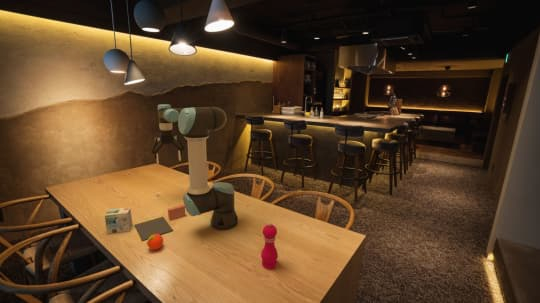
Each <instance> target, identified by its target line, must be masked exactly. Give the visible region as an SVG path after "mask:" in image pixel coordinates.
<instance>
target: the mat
mask: <svg viewBox="0 0 540 303" xmlns="http://www.w3.org/2000/svg"><path fill="white" fill-rule="evenodd" d="M133 225H134V228H135V229H136V232H137V235H138V236H139V238H140V241H141V242H143V241H147V240H148V238H149V237H150V236H151V235H153V234H160V235H161V236H162V235H165V234H168V233H172V232H174V230H173V228H172V227H171V225H170V223H169V222H167V220H166V219H165V217H164V216H161V217H160V216H159V217H157V218H153V219H150V220H147V221H143V222H139V223H135V224H133Z"/></svg>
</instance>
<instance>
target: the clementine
mask: <svg viewBox="0 0 540 303" xmlns="http://www.w3.org/2000/svg"><path fill="white" fill-rule="evenodd" d="M163 243H164V238H163V236H162V235H160V234H153V235H151V236H150V237H149V238H148V239H147V240H146V243H145V245H147V247H148V248H149V249H151V250H154V251H155V250H159V249H160V248H161V247H162V246H163V245H164V244H163Z"/></svg>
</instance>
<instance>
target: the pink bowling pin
mask: <svg viewBox="0 0 540 303" xmlns="http://www.w3.org/2000/svg"><path fill="white" fill-rule="evenodd" d="M262 234H263V240H264V241H263V242H264V246H263V248H262V250H261V252H260V258H261V265H262V267H263V268H264V269H266V270H272V269H274V268H275V267H277V263H278V262H277V259H278V257H279V254H278V251H277V248H276V245H275V242H276V240H277V239H276V235H277V234H278V229H277V227H276V226H275V225H273V223H272V222H271V221H269V222H267V224H266V225H264V227H263V228H262Z"/></svg>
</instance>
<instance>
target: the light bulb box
mask: <svg viewBox="0 0 540 303" xmlns="http://www.w3.org/2000/svg"><path fill="white" fill-rule="evenodd" d="M104 221H105V228H106V234H107V235H109V234H119V233H129V232H130V231H131V230H132V228H133V225H134V224H133V216H132V208H131V207H121V208H112V209H110V208H109V209H108V210H107V212H106V213H105V214H104Z"/></svg>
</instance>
